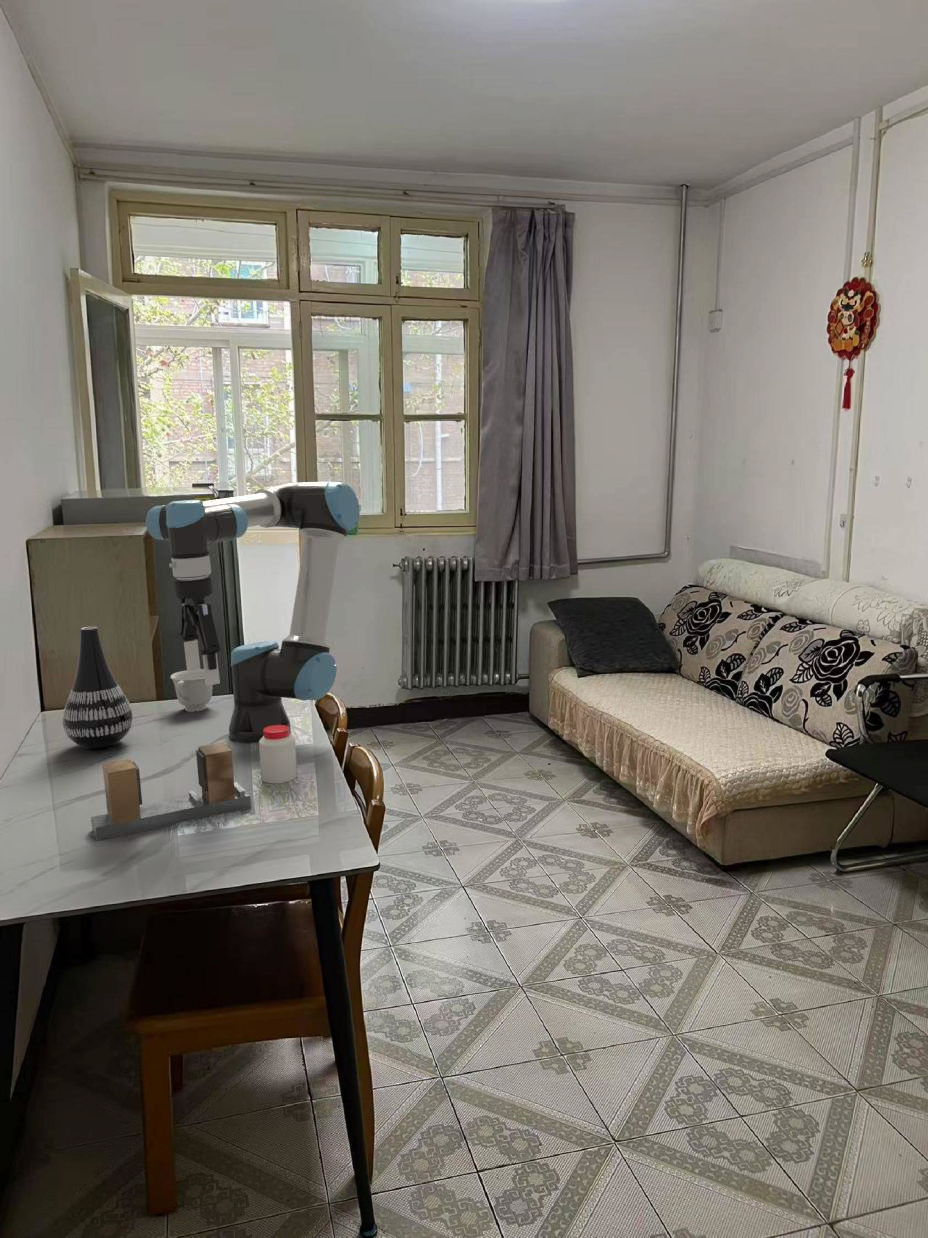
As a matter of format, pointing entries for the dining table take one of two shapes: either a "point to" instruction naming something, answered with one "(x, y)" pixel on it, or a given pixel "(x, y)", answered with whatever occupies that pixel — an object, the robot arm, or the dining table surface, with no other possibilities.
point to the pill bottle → (277, 755)
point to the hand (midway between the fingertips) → (203, 677)
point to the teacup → (192, 689)
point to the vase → (95, 699)
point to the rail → (133, 818)
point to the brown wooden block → (216, 772)
